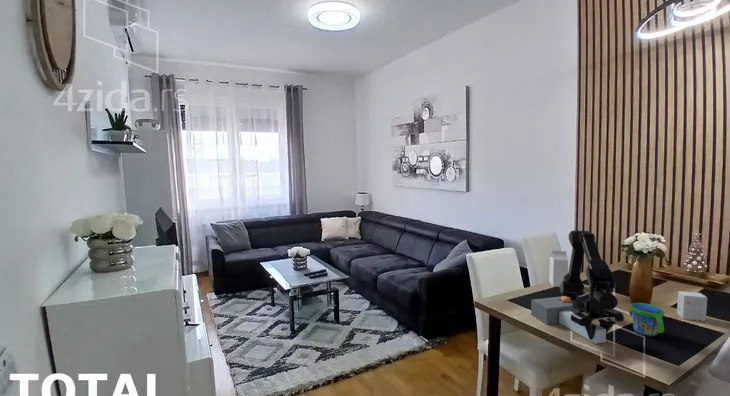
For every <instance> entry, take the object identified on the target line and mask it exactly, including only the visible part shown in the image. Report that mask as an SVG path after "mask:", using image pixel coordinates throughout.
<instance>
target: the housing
mask: <svg viewBox="0 0 730 396" xmlns="http://www.w3.org/2000/svg"><path fill="white" fill-rule="evenodd" d="M562 296H563V295H561V296H560V295H559V296H553V297H545V298H535V299H531V303H530V304H531V305H530V306H531V309H530V310H531V311H530V315H531V316H532V317H534V318H535V317H536V318H535V319H537V320H539V321H540V322H542V323H543V324H544V325H554V323H555V324H558V323H559V311H564V310H569V311H571V312H573V313H580V311H581V310H580V311H577V309H574V308H573V301H570V303H564V302H562V301H561V297H562Z"/></svg>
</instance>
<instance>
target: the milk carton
mask: <svg viewBox="0 0 730 396" xmlns="http://www.w3.org/2000/svg"><path fill="white" fill-rule="evenodd" d="M568 273H569V259H568V255H567V251H566V250H565V251H564V250H563V251H562V250H561V251H560V250H552V251H551V254H550V256H549V273H548V274H549V276H548V277H549V281H548V282H549V284H550V285H551V286H552V287H553V288H556V287H557V288H560V285H561V283H562V281H563V279H564V276H565V275H566V274H568Z"/></svg>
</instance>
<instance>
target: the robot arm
mask: <svg viewBox="0 0 730 396" xmlns="http://www.w3.org/2000/svg"><path fill="white" fill-rule="evenodd" d="M568 241H569V243H570V245H571V248H572V249H571V255H570V260H569V261H570V262H569V266H568V274H566V275H565V276H564V279H563V281H562V283H561V285H560V287H559V292H560V293H561V294H562V296H566V297H570V298H571V301H573V308H574V309H577V311H583V312H579V313H573V314H571V321H573V322H575V323H577V324H579V325H580V326H585V328H586V331H587V334H588V337H589V339H590V340H592V339H593V337H594V334H595V330H596V327H597V325H598V324H596V323H595V321H596V320H597V321H598V323H599V326H600V327H602V328H604V329H606V335H607V334H608V332H609V331H610V330H611V329H612V327H613V326H614V325H616V324H617V322H619V323H620V322H624V319H625V316H624V314H623V312H620V311H619V310H617V309H615V308H617V306H618V303H619V300H618V297H616V296H615V295H614V294H613V293H612V289H616V280H615V276H614V273H613V271H612V270H611V269H610V267H609V265H608V263H606V261H604V259H602V257H601V254H600V252H599V249H598V246H597V245H598V244H596V235H595V233H592V232H590V231H589V230H571V231H570V232H569V234H568ZM584 255H585V257H586V262H587V267H586V269H585V270H586V271H585V275H586V279H587V282H588V285H589V288H588V290H589V291H588V299H586V300H584V301H581V300H580V296H583V294H584V289H585V285H584V282H583V280H582V278H581V274H582V273H581V272H582V266H583V262H584ZM584 313H586V314H588V315H586V314H584ZM613 318H614V320H615V321H614V320H613ZM595 324H596V325H595ZM590 340H589V341H590Z"/></svg>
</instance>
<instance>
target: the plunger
mask: <svg viewBox="0 0 730 396" xmlns="http://www.w3.org/2000/svg"><path fill="white" fill-rule="evenodd" d="M561 296H562V297H561V301H562V302H564V303H570V301H571V298H570V297H566V296H563V295H561Z"/></svg>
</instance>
